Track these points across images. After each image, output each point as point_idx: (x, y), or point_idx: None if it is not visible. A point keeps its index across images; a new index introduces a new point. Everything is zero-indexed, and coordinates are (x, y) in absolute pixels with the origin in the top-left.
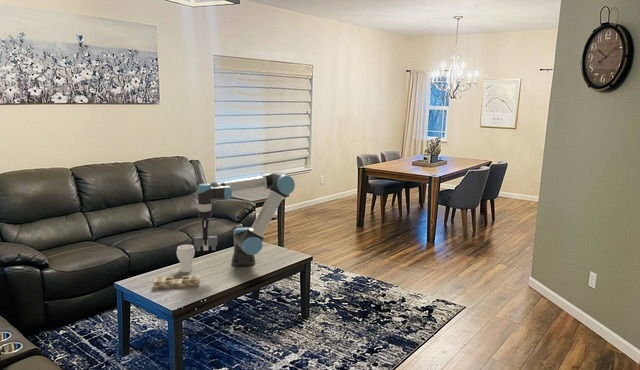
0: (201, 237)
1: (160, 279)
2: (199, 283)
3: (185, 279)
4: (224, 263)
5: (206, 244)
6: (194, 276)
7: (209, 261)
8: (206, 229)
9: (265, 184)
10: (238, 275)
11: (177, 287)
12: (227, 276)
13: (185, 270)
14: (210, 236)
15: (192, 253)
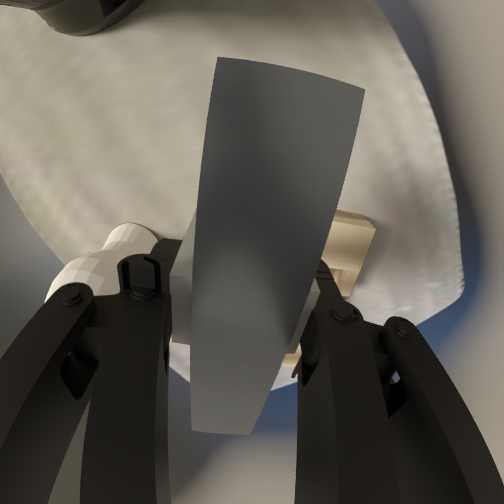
0: (245, 391)
1: (296, 354)
2: (336, 210)
3: (345, 282)
4: (77, 69)
5: (327, 270)
6: (328, 244)
7: (40, 147)
8: (493, 493)
9: None
10: (290, 8)
11: None
12: (286, 58)
13: None
14: (215, 254)
15: None
